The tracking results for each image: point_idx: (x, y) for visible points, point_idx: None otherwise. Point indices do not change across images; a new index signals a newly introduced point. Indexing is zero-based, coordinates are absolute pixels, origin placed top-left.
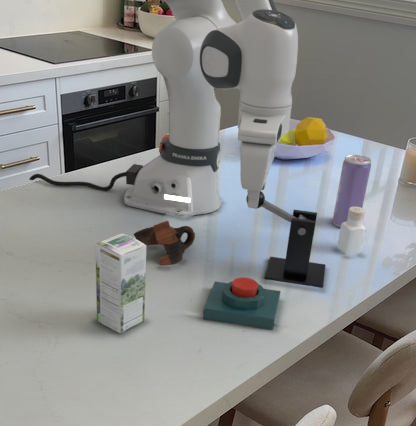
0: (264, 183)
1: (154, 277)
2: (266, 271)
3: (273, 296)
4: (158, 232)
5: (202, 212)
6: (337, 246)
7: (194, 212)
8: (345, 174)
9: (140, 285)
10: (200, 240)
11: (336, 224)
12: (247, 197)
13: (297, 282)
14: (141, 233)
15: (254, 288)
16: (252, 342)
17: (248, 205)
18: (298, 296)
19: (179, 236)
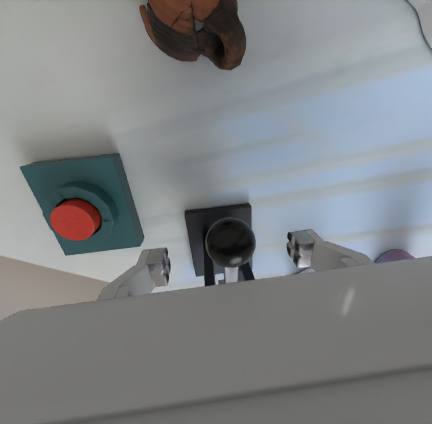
0: (295, 262)
1: (104, 23)
2: (201, 212)
3: (121, 242)
4: None
5: (426, 28)
6: (310, 270)
7: (422, 7)
8: None
9: None
10: (295, 68)
11: (383, 256)
12: (217, 228)
13: (191, 251)
14: None
15: (67, 238)
16: (31, 233)
17: (142, 252)
18: (170, 253)
19: (206, 30)
